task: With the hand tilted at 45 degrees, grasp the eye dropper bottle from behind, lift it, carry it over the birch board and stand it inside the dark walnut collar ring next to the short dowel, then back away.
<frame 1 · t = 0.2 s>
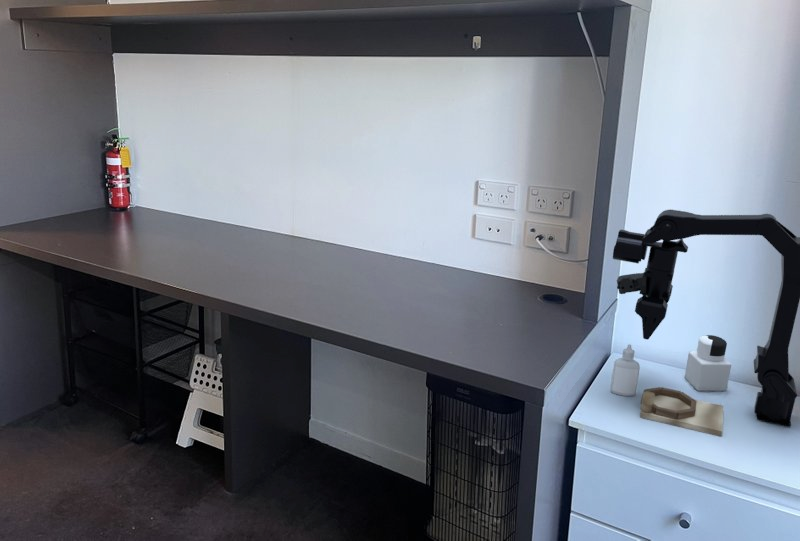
hand: (647, 331, 152), 14 cm above the table, tool pointing down, fingers open, 9 cm apart
board: (681, 413, 145), on the table
eye dropper bottle: (622, 393, 154), on the table
medicine bottle: (704, 385, 159), on the table
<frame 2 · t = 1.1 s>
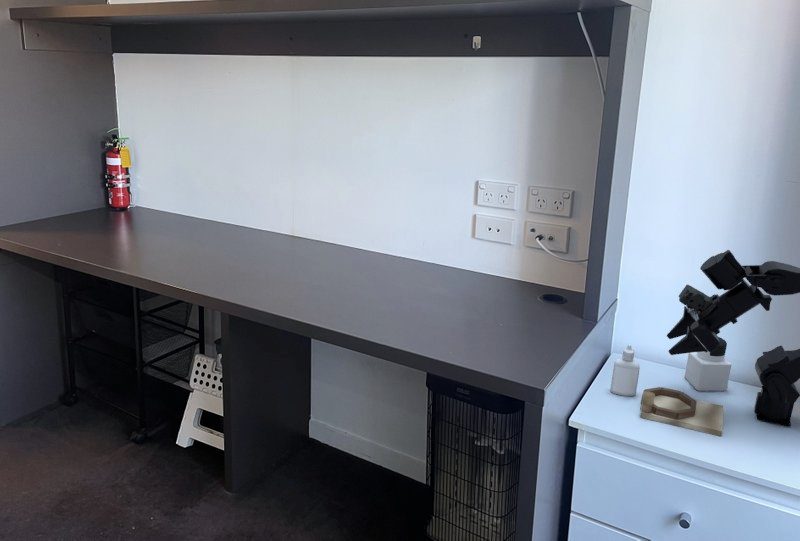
hand: (668, 345, 148), 13 cm above the table, tool tilted 45°, fingers open, 9 cm apart
nothing on the table moved.
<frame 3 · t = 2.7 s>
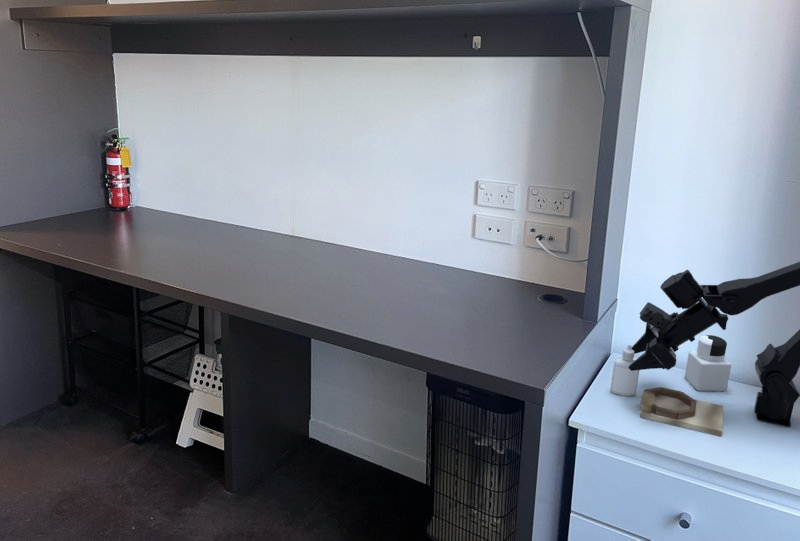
hand: (629, 360, 151), 8 cm above the table, tool tilted 45°, fingers open, 9 cm apart
nothing on the table moved.
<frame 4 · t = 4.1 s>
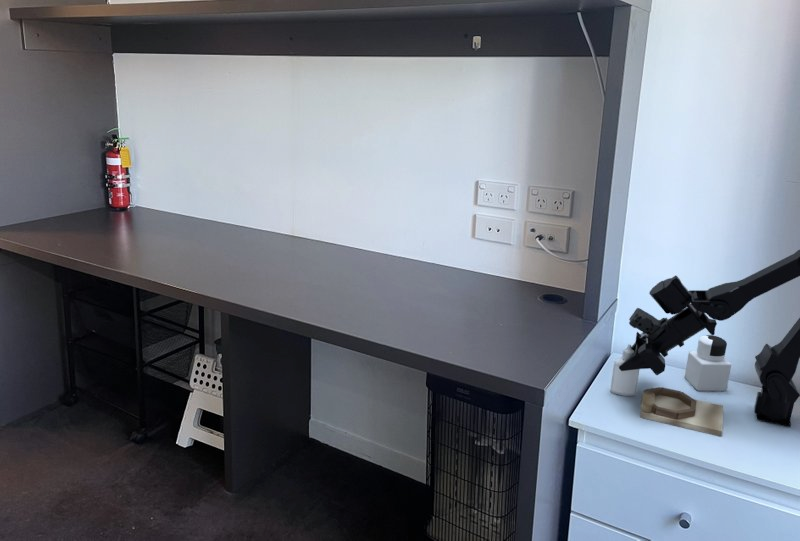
hand: (620, 365, 153), 7 cm above the table, tool tilted 45°, fingers closed on eye dropper bottle, 3 cm apart
eye dropper bottle: (622, 393, 154), on the table, touching gripper
everything else where it was.
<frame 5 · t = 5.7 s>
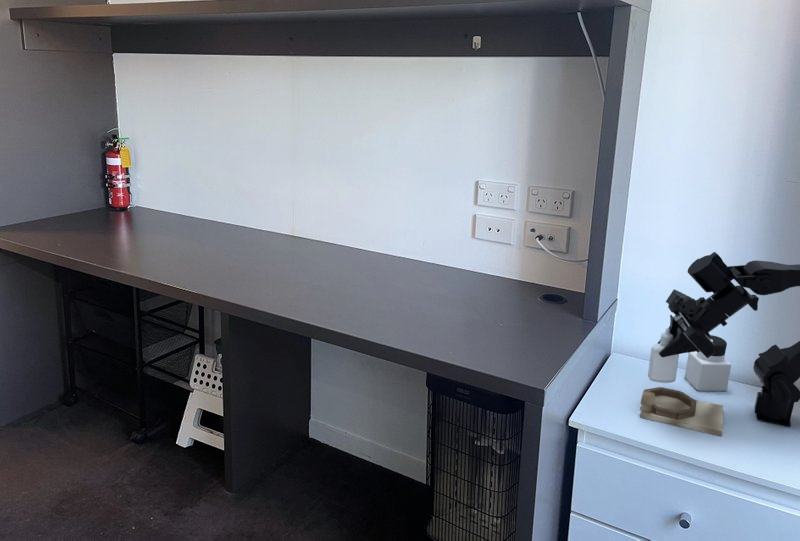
hand: (658, 351, 144), 13 cm above the table, tool tilted 45°, fingers closed on eye dropper bottle, 3 cm apart
eye dropper bottle: (661, 380, 146), point 6 cm above the table, touching gripper
everything else where it was.
when the fingers open (8 cm above the table, at t = 7.3 s): eye dropper bottle stays where it is, resting on board.
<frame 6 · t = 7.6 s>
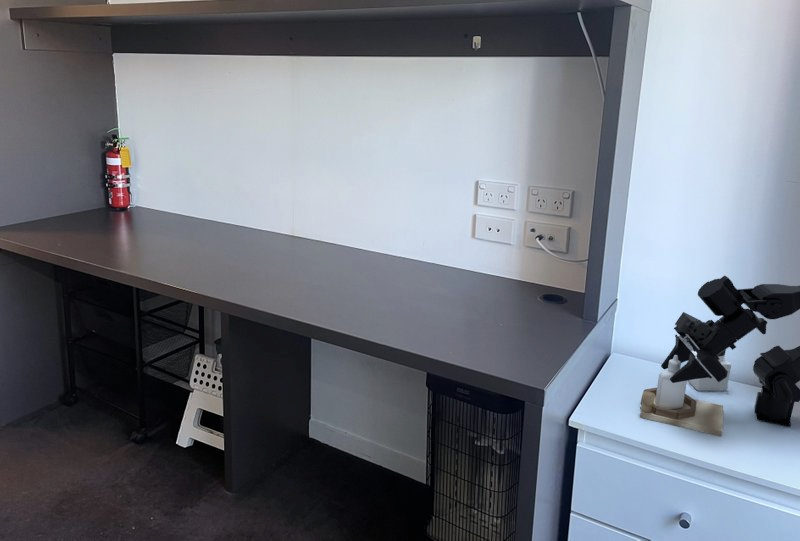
hand: (666, 374, 144), 9 cm above the table, tool tilted 45°, fingers open, 6 cm apart
eye dropper bottle: (668, 406, 146), point 1 cm above the table, touching board
everything else where it was.
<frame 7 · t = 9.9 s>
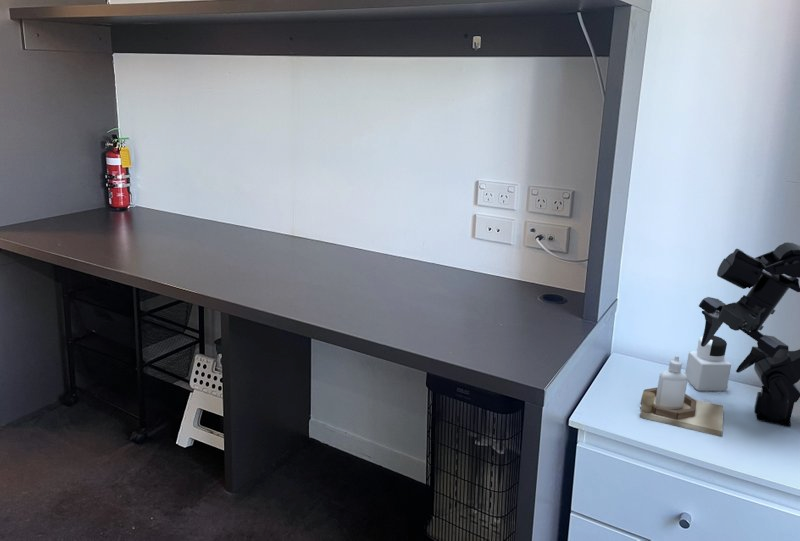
hand: (719, 358, 143), 13 cm above the table, tool tilted 25°, fingers open, 9 cm apart
nothing on the table moved.
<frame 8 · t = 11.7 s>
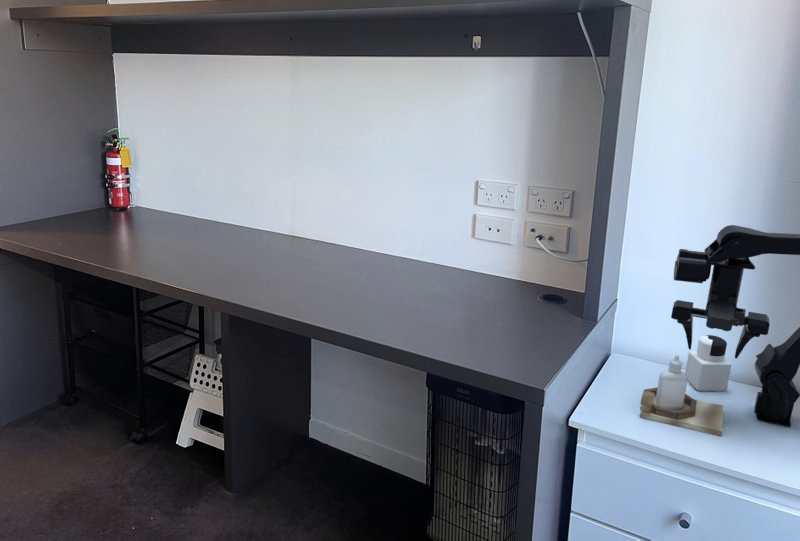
hand: (712, 353, 145), 13 cm above the table, tool pointing down, fingers open, 9 cm apart
nothing on the table moved.
at the end: eye dropper bottle 0.1 cm from the target spot on the board, point 1.0 cm above the board's base; eye dropper bottle tilted 0°; the gripper is holding nothing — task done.
